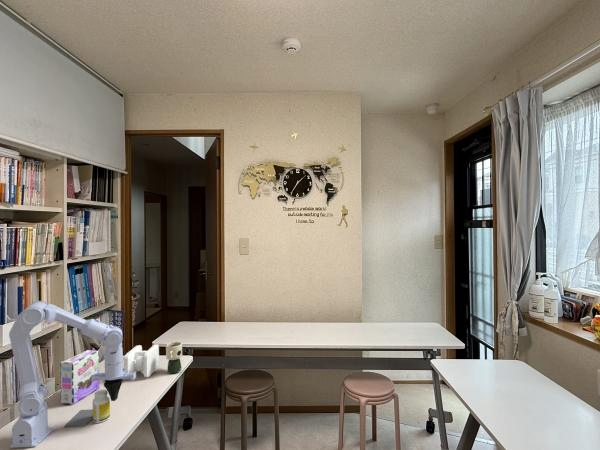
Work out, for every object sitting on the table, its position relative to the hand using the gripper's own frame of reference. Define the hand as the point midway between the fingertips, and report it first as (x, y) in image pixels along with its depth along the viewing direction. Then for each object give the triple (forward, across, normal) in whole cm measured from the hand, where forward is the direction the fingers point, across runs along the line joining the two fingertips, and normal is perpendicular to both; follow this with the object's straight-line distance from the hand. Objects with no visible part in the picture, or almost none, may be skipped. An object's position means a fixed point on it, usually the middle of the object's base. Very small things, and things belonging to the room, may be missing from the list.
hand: (114, 399), depth 124 cm
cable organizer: (+7, +5, -37) cm, 38 cm away
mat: (+7, +12, -1) cm, 14 cm away
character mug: (+7, -10, -38) cm, 40 cm away
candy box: (+7, +22, -18) cm, 29 cm away
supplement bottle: (+7, +5, 0) cm, 8 cm away
